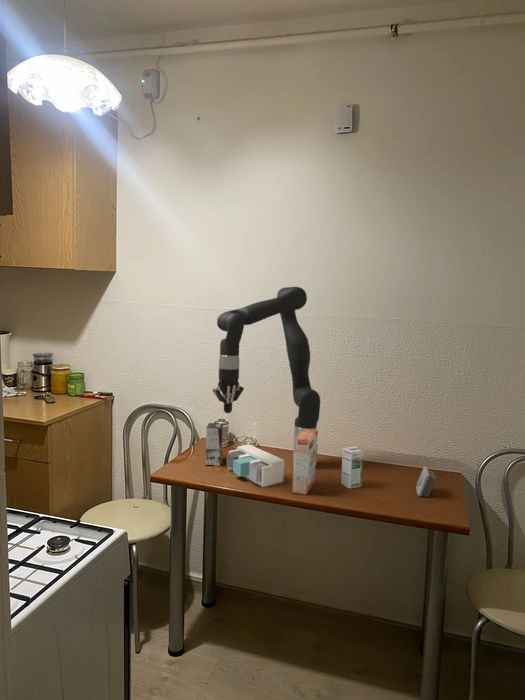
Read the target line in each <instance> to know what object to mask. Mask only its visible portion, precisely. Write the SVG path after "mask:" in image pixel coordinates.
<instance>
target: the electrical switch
mask: <svg viewBox="0 0 525 700" xmlns="http://www.w3.org/2000/svg"><path fill="white" fill-rule="evenodd" d="M436 480H437V478H436V475H435V472H434V471H433V470H430V469H428V467H427V466H423V468H422V470H421V472H420V476H419V477H418V480H417V483H416V484H415V485H416V486H415V491H416V493H417V494H416V495H417V496H418V497H420V498H421V497H422V496H423V497H426V498H429V496H430V495H431V492H432V490H433V487H434V485H435V482H436Z"/></svg>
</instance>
